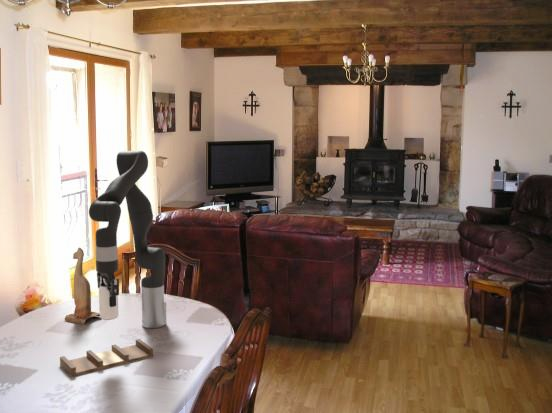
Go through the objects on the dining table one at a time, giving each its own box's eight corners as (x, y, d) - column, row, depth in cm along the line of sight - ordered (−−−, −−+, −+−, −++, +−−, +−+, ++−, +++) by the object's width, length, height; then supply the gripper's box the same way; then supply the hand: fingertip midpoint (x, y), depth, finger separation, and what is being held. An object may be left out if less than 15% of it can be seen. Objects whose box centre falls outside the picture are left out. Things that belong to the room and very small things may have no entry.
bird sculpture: (82, 314, 272) (77, 243, 267) (103, 317, 267) (98, 245, 262) (64, 322, 262) (58, 248, 257) (85, 325, 257) (80, 250, 252)
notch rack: (139, 346, 234) (139, 338, 234) (153, 356, 225) (153, 348, 224) (60, 365, 216) (59, 357, 216) (71, 376, 207) (71, 368, 206)
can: (101, 314, 221) (100, 282, 219) (119, 313, 221) (118, 281, 219) (98, 320, 214) (96, 287, 212) (117, 319, 215) (115, 286, 213)
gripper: (125, 260, 211) (127, 307, 214) (108, 252, 222) (110, 297, 225) (104, 263, 206) (106, 311, 209) (88, 255, 218) (90, 300, 220)
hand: (108, 303), depth 217 cm, fingers closed on can, 6 cm apart
